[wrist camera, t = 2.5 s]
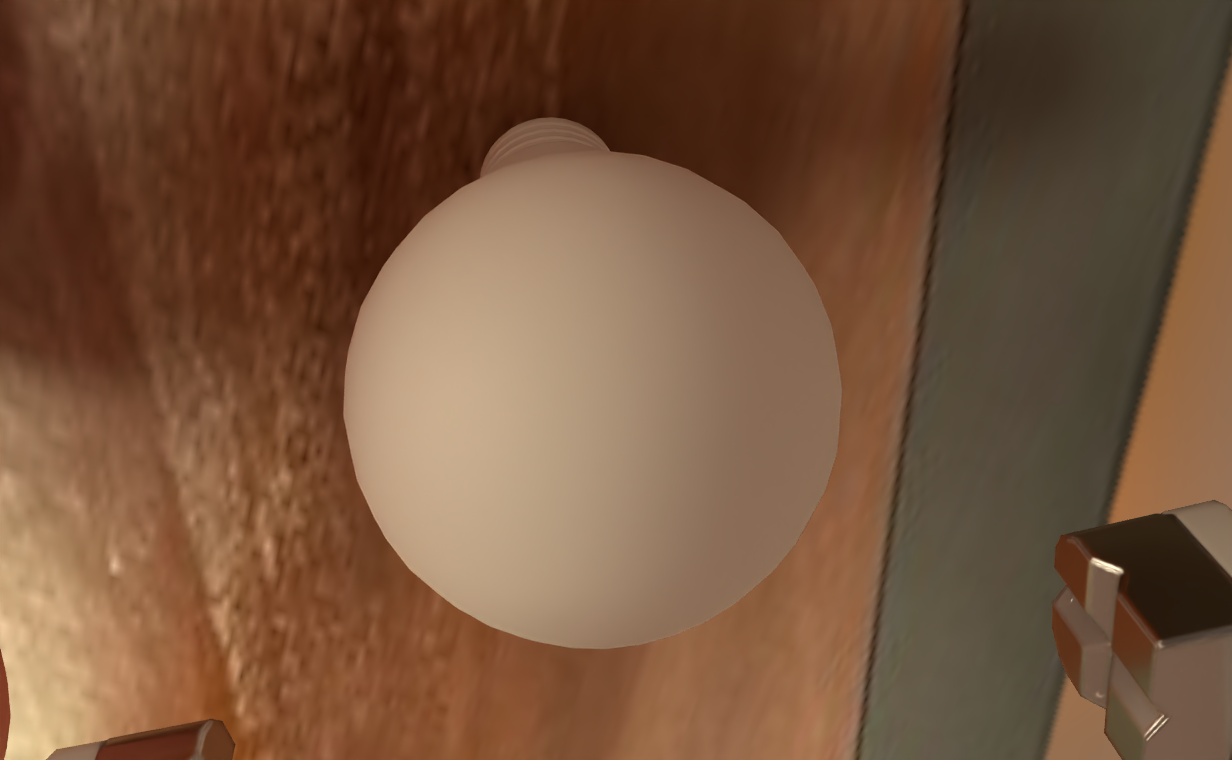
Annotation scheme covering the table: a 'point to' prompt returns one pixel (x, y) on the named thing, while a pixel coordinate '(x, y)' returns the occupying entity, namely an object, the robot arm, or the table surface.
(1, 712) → the teapot
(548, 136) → the lightbulb
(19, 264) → the table surface
